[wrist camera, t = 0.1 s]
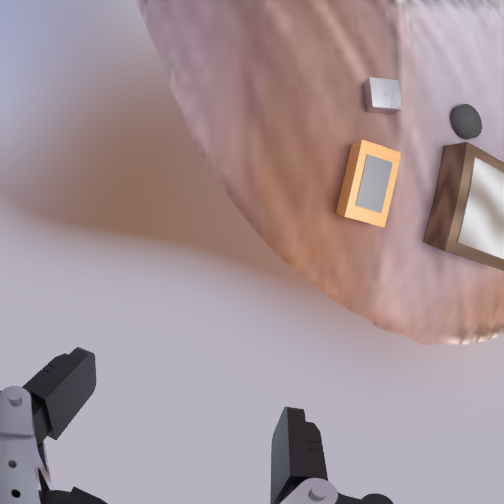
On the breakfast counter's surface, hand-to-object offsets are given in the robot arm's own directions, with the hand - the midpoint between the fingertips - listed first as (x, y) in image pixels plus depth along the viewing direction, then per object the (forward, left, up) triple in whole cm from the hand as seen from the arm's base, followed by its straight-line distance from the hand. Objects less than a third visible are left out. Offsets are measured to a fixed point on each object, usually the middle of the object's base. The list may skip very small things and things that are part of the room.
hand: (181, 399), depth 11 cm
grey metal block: (-24, +13, -29) cm, 40 cm away
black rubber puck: (-26, +27, -29) cm, 47 cm away
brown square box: (-14, +31, -29) cm, 45 cm away
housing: (-12, +13, -29) cm, 34 cm away
